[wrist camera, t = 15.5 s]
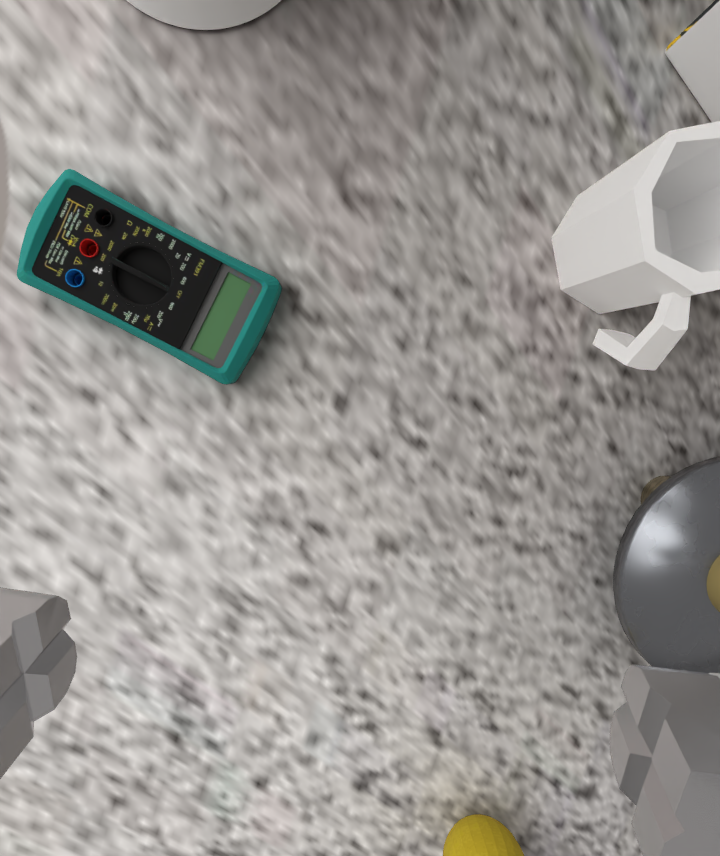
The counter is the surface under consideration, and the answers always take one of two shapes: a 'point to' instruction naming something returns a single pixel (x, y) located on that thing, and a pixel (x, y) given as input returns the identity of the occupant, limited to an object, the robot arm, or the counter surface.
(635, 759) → the robot arm
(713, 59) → the medicine bottle
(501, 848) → the lemon
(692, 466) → the plate
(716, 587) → the yellow lidded tumbler
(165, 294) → the digital multimeter
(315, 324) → the counter surface
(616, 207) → the mug
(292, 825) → the counter surface
